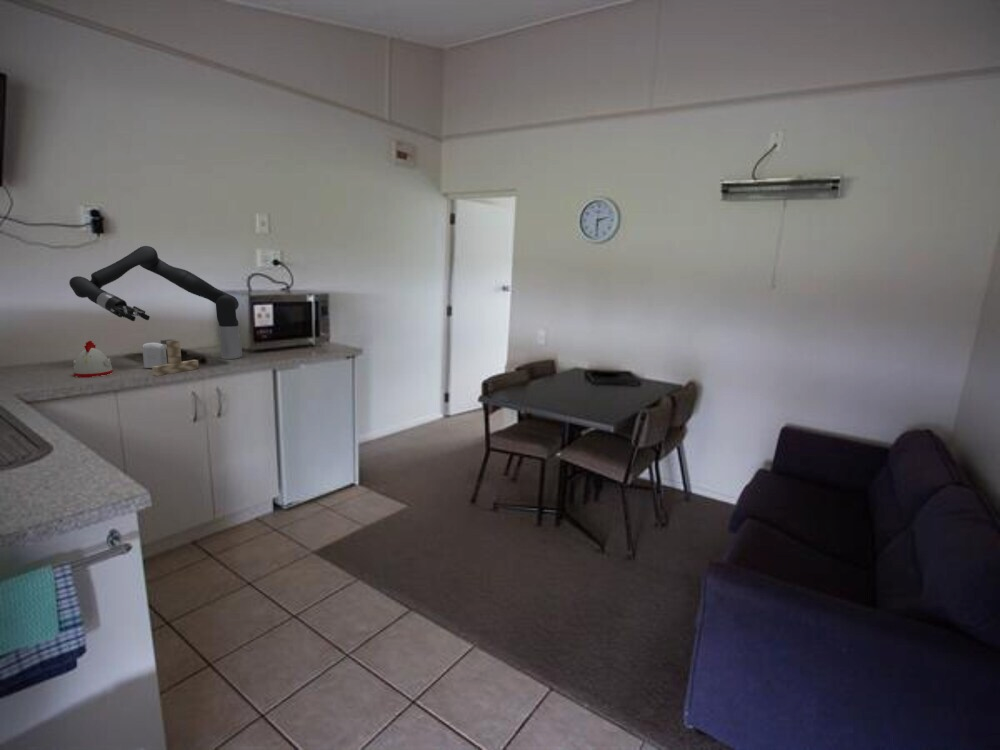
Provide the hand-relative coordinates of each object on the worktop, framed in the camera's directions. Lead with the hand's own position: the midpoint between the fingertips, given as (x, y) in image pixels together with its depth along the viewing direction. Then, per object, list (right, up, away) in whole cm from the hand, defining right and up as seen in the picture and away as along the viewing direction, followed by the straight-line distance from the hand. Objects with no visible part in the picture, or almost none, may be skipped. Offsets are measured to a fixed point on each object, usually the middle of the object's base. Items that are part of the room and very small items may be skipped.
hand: (141, 318), depth 245 cm
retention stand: (+15, -24, 0) cm, 29 cm away
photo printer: (+3, -23, +5) cm, 24 cm away
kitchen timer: (-14, -26, -11) cm, 31 cm away
